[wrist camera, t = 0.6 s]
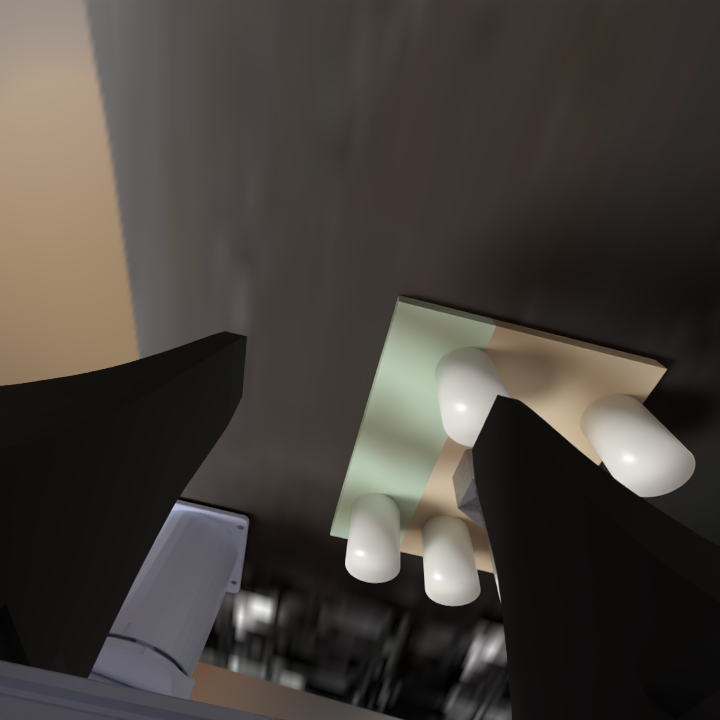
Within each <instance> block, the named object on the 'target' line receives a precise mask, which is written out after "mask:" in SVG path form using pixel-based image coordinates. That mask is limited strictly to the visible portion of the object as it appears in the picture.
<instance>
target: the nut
mask: <svg viewBox="0 0 720 720" xmlns="http://www.w3.org/2000/svg"><path fill="white" fill-rule="evenodd" d="M452 479H453V485H454V490H455V496H456V502H457V508H458V509H459V510H460V511H462V512H463V513H464V514H465V515H467V516H468V517H469V518H470V519H472V520H473V521H474V522H475V523H477V524H478V525H479V526H480V527H482V528H483V529H486V525H485V521H484V517H483V513H482V509H481V505H480V501H479V497H478V492H477V488H476V484H475V478H474V469H473V456H472V449H466V450H465V451H464V453H463V456H462V458H461V460H460V462H459V464H458V466H457V468H456V470H455V472H454V475H453V477H452Z"/></svg>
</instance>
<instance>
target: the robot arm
mask: <svg viewBox="0 0 720 720" xmlns="http://www.w3.org/2000/svg"><path fill="white" fill-rule="evenodd" d="M246 342H247V336H243V335H239V334H234V333H230V332H226V331H225V332H221V333H217V334H214V335H211V336H208V337H205V338H202V339H200V340H197V341H194V342H191V343H188V344H185V345H183V346H180V347H177V348H174V349H171V350H168V351H165V352H162V353H159V354H156V355H152V356H149V357H146V358H143V359H139V360H136V361H133V362H130V363H126V364H122V365H118V366H114V367H111V368H106V369H102V370H98V371H92V372H88V373H83V374H78V375H73V376H67V377H60V378H54V379H48V380H41V381H36V382H29V383H22V384H14V385H5V386H0V720H283V719H278V718H274V717H269V716H264V715H260V714H254V713H250V712H245V711H240V710H235V709H230V708H226V707H221V706H216V705H212V704H207V703H202V702H197V701H193V700H189V698H190V695H191V693H192V690H193V687H194V685H195V682H196V681H195V679H193V678H190V676H191V674H192V673H193V671H194V669H195V667H196V665H197V663H198V661H199V658H200V656H201V653H202V651H203V648H204V646H205V643H206V641H207V638H208V636H209V633H210V631H211V628H212V626H213V623H214V621H215V618H216V616H217V613H218V611H219V608H220V605H221V603H222V600H223V598H224V595H225V593H226V591H227V592H231V593H237V592H239V589H240V586H241V579H242V571H243V564H244V557H245V549H246V542H247V535H248V527H249V518H248V517H247V516H245V515H241V514H237V513H233V512H228V511H224V510H220V509H216V508H211V507H207V506H203V505H198V504H194V503H190V502H185V501H181V500H178V498H179V497H180V495H181V493H182V492H183V490H184V489H185V487H186V486H187V484H188V483H189V481H190V480H191V478H192V477H193V476H194V474H195V473H196V471H197V470H198V468H199V467H200V465H201V464H202V462H203V461H204V460H205V458H206V457H207V455H208V454H209V452H210V451H211V449H212V448H213V447H214V445H215V444H216V442H217V441H218V439H219V438H220V436H221V435H222V433H223V432H224V430H225V429H226V427H227V426H228V424H229V422H230V420H231V418H232V416H233V414H234V412H235V410H236V408H237V406H238V404H239V402H240V400H241V398H242V390H243V378H244V366H245V354H246ZM472 456H473V469H474V478H475V484H476V488H477V492H478V497H479V501H480V505H481V509H482V513H483V517H484V521H485V525H486V529H487V533H488V537H489V541H490V545H491V549H492V553H493V557H494V562H495V567H496V572H497V579H498V586H499V593H500V600H501V607H502V615H503V624H504V633H505V641H506V650H507V660H508V672H509V684H510V696H511V708H512V720H720V547H719V546H717V545H715V544H714V543H712V542H710V541H708V540H707V539H705V538H703V537H702V536H700V535H699V534H697V533H695V532H694V531H692V530H690V529H689V528H687V527H685V526H684V525H682V524H681V523H679V522H677V521H676V520H674V519H672V518H671V517H669V516H668V515H666V514H665V513H663V512H662V511H660V510H659V509H657V508H656V507H654V506H653V505H651V504H650V503H648V502H647V501H645V500H644V499H643V498H641V497H640V496H638V495H637V494H635V493H634V492H633V491H631V490H630V489H628V488H627V487H625V486H624V485H623V484H621V483H620V482H619V481H617V480H616V479H615V478H613V477H612V476H611V475H609V474H608V473H607V472H606V471H604V470H603V469H602V468H601V467H599V466H598V465H597V464H596V463H594V462H593V461H592V460H591V459H589V458H588V457H587V456H586V455H584V454H583V453H582V452H581V451H580V450H578V449H577V448H576V447H575V446H574V445H573V444H571V443H570V442H569V441H568V440H567V439H566V438H564V437H563V436H562V435H561V434H560V433H559V432H558V431H556V430H555V429H554V428H553V427H552V426H551V425H550V424H548V423H547V422H546V421H545V420H544V419H543V418H541V417H540V416H539V415H538V414H537V413H536V412H534V411H533V410H532V409H531V408H529V407H528V406H527V405H525V404H524V403H523V402H521V401H520V400H518V399H514V398H509V397H505V396H501V395H497V397H496V399H495V401H494V403H493V405H492V407H491V410H490V412H489V414H488V416H487V418H486V420H485V422H484V425H483V427H482V429H481V431H480V433H479V435H478V438H477V440H476V442H475V444H474V446H473V448H472Z"/></svg>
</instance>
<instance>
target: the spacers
mask: <svg viewBox="0 0 720 720" xmlns="http://www.w3.org/2000/svg"><path fill="white" fill-rule="evenodd" d="M435 382H436V387H437V393H438V399H439V405H440V411H441V416H442V422H443V427H444V429H445V431H446V433H447V434H448V436H449V437H450V438H451V439H453V440H454V441H455V442H457V443H459V444H462V445H465V446H469V447H473V446H474V444H475V442H476V440H477V438H478V435H479V433H480V431H481V429H482V427H483V425H484V422H485V420H486V418H487V416H488V414H489V412H490V410H491V407H492V405H493V403H494V401H495V399H496V397H497V395H501V396H505V397H509V398H511V396H510V394H509V392H508V390H507V388H506V386H505V384H504V381H503V379H502V377H501V375H500V373H499V371H498V369H497V367H496V365H495V363H494V361H493V359H492V358H491V357H490V355H488V354H487V353H486V352H484V351H483V350H480V349H478V348H473V347H462V348H458V349H455V350H452V351H450V352H448V353H447V354H446V355H444V356H443V357H442V358H441V360H440V361H439V362H438V364H437V366H436V369H435ZM580 427H581V430H582V432H583V433H584V435H585V436H586V438H587V439H588V441H589V442H590V443H591V445H592V446H593V448H594V449H595V451H596V452H597V454H598V455H599V457H600V458H601V460H602V461H603V463H604V464H605V465H606V467H607V468H608V470H609V471H610V473H611V474H612V476H613V477H614V478H615V479H616V480H617V481H619V482H620V483H621V484H623V485H624V486H625V487H627V488H628V489H630V490H631V491H633V492H634V493H635V494H637V495H638V496H640V497H653V496H659V495H663V494H666V493H669V492H671V491H674V490H675V489H677V488H679V487H680V486H682V485H683V484H684V483H686V482H687V481H688V480H689V478H690V477H691V475H692V474H693V472H694V469H695V459H694V457H693V455H692V453H691V452H690V451H689V450H688V449H687V448H686V447H685V446H684V445H683V444H682V443H681V442H680V441H679V440H678V439H677V438H676V437H675V436H674V435H673V434H672V433H671V432H670V431H669V430H668V429H667V428H666V427H665V426H664V425H663V424H662V423H661V422H660V421H659V420H658V419H656V418H655V417H654V416H653V415H652V414H651V413H650V412H649V411H648V410H647V409H646V408H645V407H644V406H643V405H642V404H641V403H640V402H639V401H638V400H637V399H636V398H634V397H632V396H629V395H625V394H613V395H608V396H605V397H602V398H600V399H598V400H596V401H594V402H593V403H591V404H590V405H589V406H588V407H587V408H586V409H585V411H584V412H583V414H582V416H581V420H580ZM421 532H422V547H423V563H424V578H425V591H426V594H427V595H428V597H429V598H430V599H432V600H433V601H435V602H437V603H439V604H442V605H447V606H460V605H465V604H468V603H470V602H472V601H474V600H475V599H476V598H477V597H478V596H479V594H480V590H481V589H480V583H479V578H478V573H477V568H476V563H475V558H474V553H473V547H472V542H471V537H470V532H469V528H468V526H467V524H466V523H465V522H464V521H463V520H461V519H459V518H457V517H454V516H449V515H441V516H436V517H433V518H431V519H429V520H428V521H426V522H425V523H424V525H423V526H422V530H421ZM487 546H488V550H489V554H490V559H491V563H492V567H493V571H494V576H495V580H496V584H497V588H498V593H499V586H498V579H497V572H496V567H495V562H494V557H493V553H492V549H491V545H490V541H489V537H488V540H487ZM345 566H346V569H347V571H348V572H349V573H350V574H351V575H352V576H353V577H355V578H357V579H359V580H361V581H365V582H369V583H382V582H387V581H389V580H391V579H393V578H395V577H396V576H397V575H398V573H399V571H400V508H399V505H398V504H397V502H396V501H395V500H394V499H393V498H391V497H389V496H387V495H385V494H381V493H368V494H364V495H362V496H360V497H358V498H357V499H356V500H355V501H354V503H353V506H352V514H351V521H350V529H349V537H348V545H347V552H346V560H345ZM499 597H500V593H499ZM500 601H501V600H500Z"/></svg>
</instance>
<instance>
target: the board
mask: <svg viewBox="0 0 720 720" xmlns="http://www.w3.org/2000/svg"><path fill="white" fill-rule="evenodd" d="M462 347H473V348H478V349H480V350H483V351H484V352H486V353H487V354H488V355H490V357H491V358H492V359H493V361H494V363H495V365H496V367H497V369H498V371H499V373H500V375H501V377H502V379H503V381H504V384H505V386H506V388H507V390H508V392H509V394H510V396H511V398H514V399H518V400H520V401H521V402H523V403H524V404H525V405H527V406H528V407H529V408H531V409H532V410H533V411H534V412H536V413H537V414H538V415H539V416H540V417H541V418H543V419H544V420H545V421H546V422H547V423H548V424H550V425H551V426H552V427H553V428H554V429H555V430H556V431H558V432H559V433H560V434H561V435H562V436H563V437H564V438H566V439H567V440H568V441H569V442H570V443H571V444H573V445H574V446H575V447H576V448H577V449H578V450H580V451H581V452H582V453H583V454H584V455H586V456H587V457H588V458H589V459H591V460H592V461H593V462H594V463H596V464H597V465H598V466H599V464H600V463H601V462H602V460H601V458H600V457H599V455H598V454H597V452H596V451H595V449H594V448H593V446H592V445H591V443H590V442H589V441H588V439H587V438H586V436H585V435H584V433H583V432H582V430H581V427H580V420H581V416H582V414H583V412H584V411H585V409H586V408H587V407H588V406H589V405H590V404H591V403H593V402H594V401H596V400H598V399H600V398H602V397H605V396H608V395H613V394H625V395H629V396H632V397H634V398H636V399H637V400H638V401H639V402H640V403H641V404H643V403H644V401H645V400H646V398H647V397H648V396H649V394H650V393H651V391H652V390H653V389H654V387H655V386H656V384H657V383H658V382H659V380H660V379H661V377H662V376H663V375H664V373H665V372H666V370H667V368H665V367H664V366H663V365H661V364H660V363H659V362H657V361H656V360H653V359H649V358H646V357H642V356H638V355H634V354H630V353H626V352H622V351H618V350H614V349H610V348H606V347H602V346H598V345H594V344H590V343H586V342H582V341H578V340H574V339H570V338H566V337H562V336H558V335H555V334H551V333H547V332H543V331H539V330H535V329H531V328H527V327H523V326H519V325H515V324H511V323H507V322H503V321H499V320H495V319H491V318H487V317H483V316H479V315H475V314H471V313H467V312H464V311H460V310H456V309H452V308H448V307H444V306H440V305H436V304H432V303H428V302H424V301H420V300H416V299H412V298H408V297H404V296H400V295H399V296H398V299H397V303H396V306H395V310H394V313H393V317H392V320H391V323H390V327H389V330H388V334H387V337H386V341H385V344H384V347H383V351H382V354H381V358H380V361H379V365H378V368H377V371H376V375H375V378H374V382H373V385H372V388H371V392H370V395H369V399H368V402H367V406H366V409H365V412H364V416H363V419H362V423H361V426H360V430H359V433H358V436H357V440H356V443H355V447H354V450H353V454H352V457H351V460H350V464H349V467H348V471H347V474H346V477H345V481H344V484H343V488H342V491H341V495H340V498H339V501H338V505H337V508H336V512H335V515H334V519H333V522H332V527H331V532H330V535H332V536H336V537H340V538H345V539H348V537H349V529H350V521H351V514H352V506H353V503H354V501H355V500H356V499H357V498H358V497H360V496H362V495H364V494H368V493H381V494H385V495H387V496H389V497H391V498H393V499H394V500H395V501H396V502H397V504H398V505H399V508H400V551H401V552H405V553H409V554H414V555H418V556H422V557H423V547H422V532H421V530H422V526H423V525H424V523H425V522H426V521H428V520H429V519H431V518H433V517H436V516H441V515H449V516H454V517H457V518H459V519H461V520H463V521H464V522H465V523H466V524H467V526H468V528H469V532H470V537H471V542H472V547H473V553H474V558H475V563H476V568H477V569H478V570H483V571H487V572H491V573H494V571H493V567H492V563H491V559H490V554H489V550H488V546H487V540H488V533H487V529H483V528H482V527H480V526H479V525H478V524H477V523H475V522H474V521H473V520H472V519H470V518H469V517H468V516H467V515H465V514H464V513H463V512H462V511H460V510H459V509H458V508H457V502H456V496H455V490H454V485H453V479H452V477H453V475H454V472H455V470H456V468H457V466H458V464H459V462H460V460H461V458H462V456H463V453H464V451H465V450H466V449H472V448H473V447H469V446H465V445H462V444H459V443H457V442H455V441H454V440H453V439H451V438H450V437H449V436H448V434H447V433H446V431H445V429H444V427H443V422H442V416H441V411H440V405H439V399H438V393H437V387H436V382H435V369H436V366H437V364H438V362H439V361H440V360H441V358H442V357H443V356H444V355H446V354H447V353H448V352H450V351H452V350H455V349H458V348H462Z"/></svg>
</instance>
